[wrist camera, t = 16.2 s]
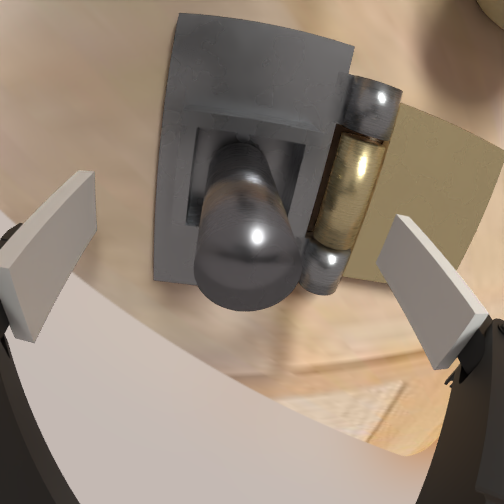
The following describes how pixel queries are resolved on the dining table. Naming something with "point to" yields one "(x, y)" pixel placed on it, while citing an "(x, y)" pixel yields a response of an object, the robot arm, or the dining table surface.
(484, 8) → the flower pot
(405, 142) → the brass leaf
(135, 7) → the dining table surface
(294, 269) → the pin
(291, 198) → the hinge base
